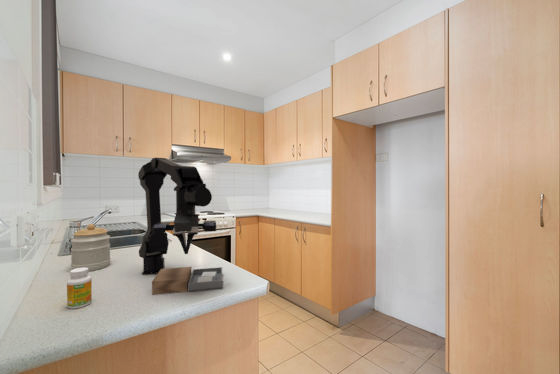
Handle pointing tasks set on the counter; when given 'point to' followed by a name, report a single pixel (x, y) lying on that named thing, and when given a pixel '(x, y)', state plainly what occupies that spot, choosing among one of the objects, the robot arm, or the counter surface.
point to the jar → (90, 248)
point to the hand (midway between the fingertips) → (186, 253)
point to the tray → (209, 285)
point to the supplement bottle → (79, 288)
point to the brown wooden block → (171, 280)
